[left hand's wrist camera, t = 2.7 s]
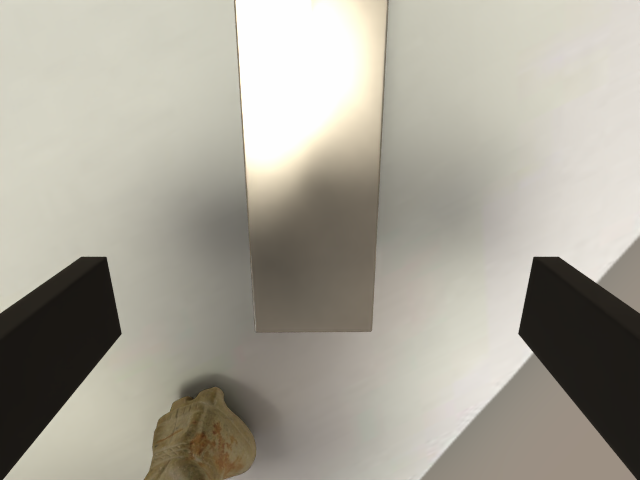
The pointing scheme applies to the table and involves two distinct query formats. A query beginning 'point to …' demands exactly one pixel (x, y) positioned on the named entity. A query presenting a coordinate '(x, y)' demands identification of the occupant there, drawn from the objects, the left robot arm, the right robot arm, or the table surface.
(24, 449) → the left robot arm
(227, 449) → the sculpture
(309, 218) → the bar
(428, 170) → the table surface
